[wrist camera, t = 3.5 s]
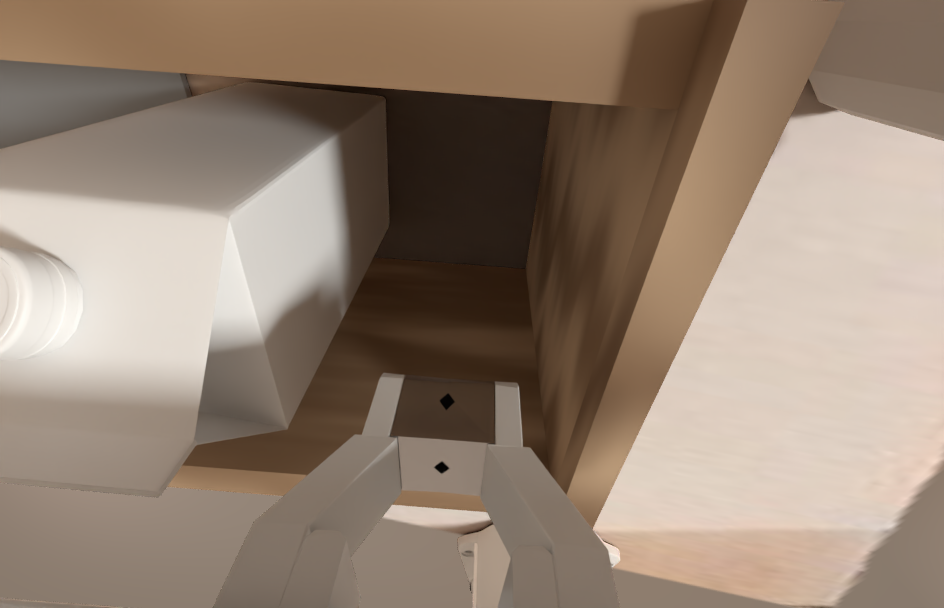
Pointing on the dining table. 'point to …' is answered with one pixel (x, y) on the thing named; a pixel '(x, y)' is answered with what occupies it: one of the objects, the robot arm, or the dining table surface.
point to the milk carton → (178, 277)
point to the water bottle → (886, 64)
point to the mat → (76, 96)
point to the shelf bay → (557, 208)
